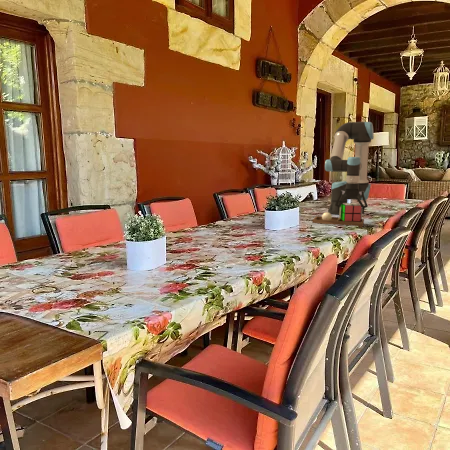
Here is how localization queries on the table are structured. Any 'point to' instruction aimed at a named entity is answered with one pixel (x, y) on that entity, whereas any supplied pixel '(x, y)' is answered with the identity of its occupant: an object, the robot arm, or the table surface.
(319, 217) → the brown wooden tray
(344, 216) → the puzzle cube
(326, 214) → the ceramic egg
